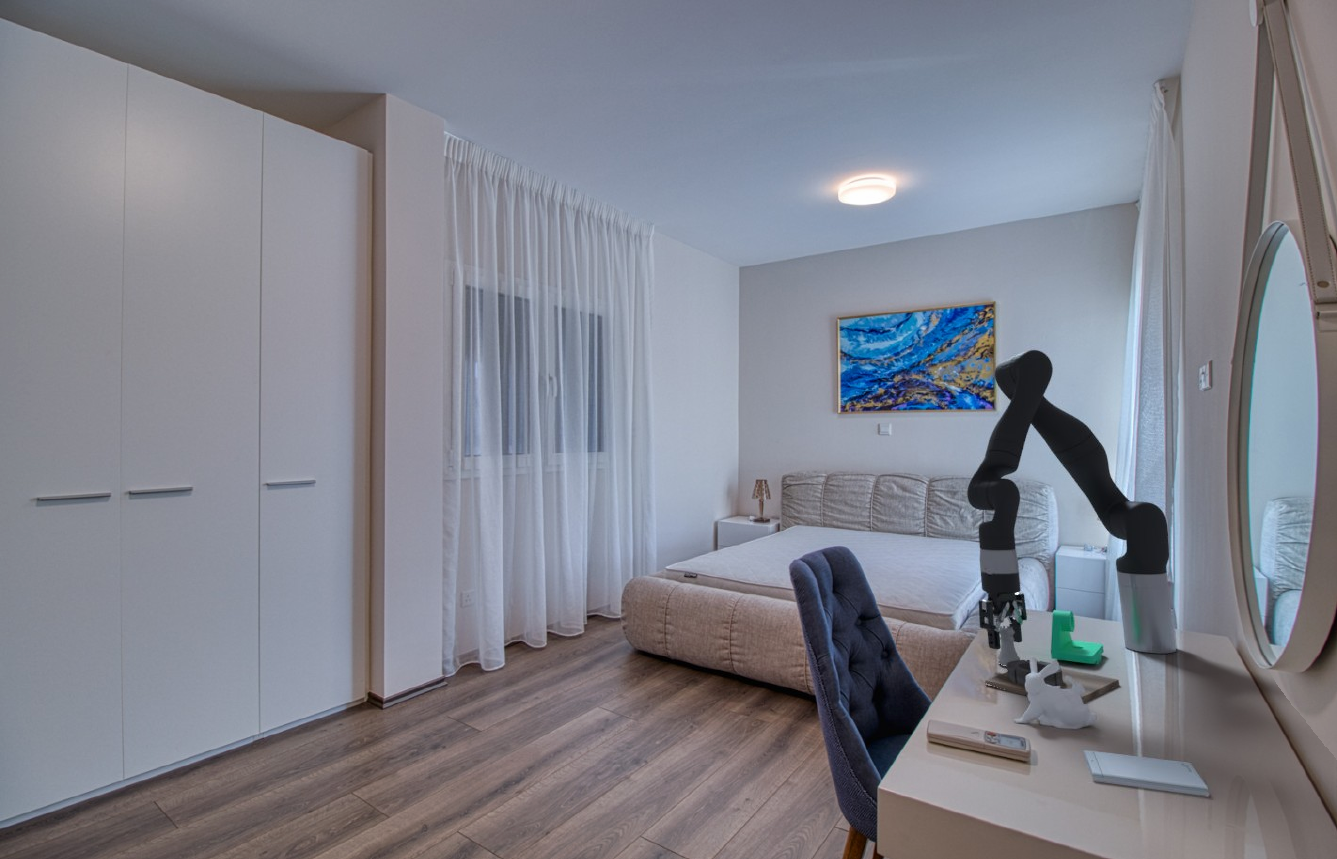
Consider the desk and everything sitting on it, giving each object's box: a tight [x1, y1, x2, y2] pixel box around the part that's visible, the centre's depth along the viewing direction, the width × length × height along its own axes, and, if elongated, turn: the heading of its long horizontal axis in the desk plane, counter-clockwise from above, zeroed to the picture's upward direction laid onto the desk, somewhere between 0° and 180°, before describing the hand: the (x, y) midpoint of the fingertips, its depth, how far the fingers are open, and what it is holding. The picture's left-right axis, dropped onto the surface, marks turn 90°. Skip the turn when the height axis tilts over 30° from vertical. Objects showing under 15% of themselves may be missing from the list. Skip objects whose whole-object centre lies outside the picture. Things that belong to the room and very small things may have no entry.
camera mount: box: [1050, 609, 1104, 665], centre depth 137 cm, size 12×8×10 cm, turn 136°
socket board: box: [984, 659, 1120, 703], centre depth 121 cm, size 18×16×4 cm
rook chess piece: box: [997, 625, 1021, 666], centre depth 135 cm, size 4×4×8 cm
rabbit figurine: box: [1013, 657, 1098, 730], centre depth 105 cm, size 12×8×10 cm, turn 60°
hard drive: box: [1083, 749, 1210, 796], centre depth 85 cm, size 2×8×12 cm
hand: (1005, 645), depth 136 cm, fingers open, 8 cm apart
